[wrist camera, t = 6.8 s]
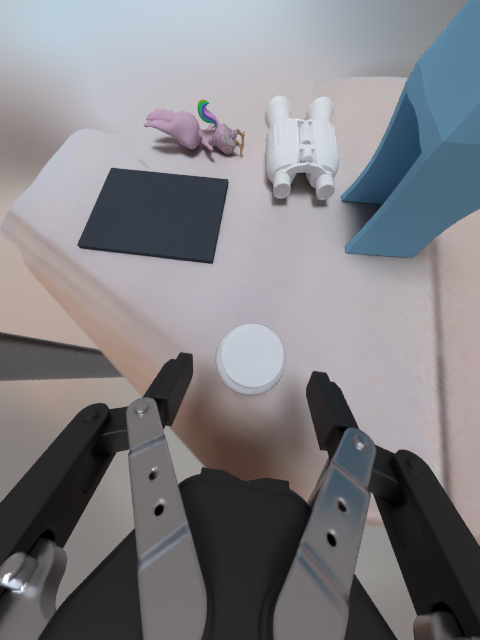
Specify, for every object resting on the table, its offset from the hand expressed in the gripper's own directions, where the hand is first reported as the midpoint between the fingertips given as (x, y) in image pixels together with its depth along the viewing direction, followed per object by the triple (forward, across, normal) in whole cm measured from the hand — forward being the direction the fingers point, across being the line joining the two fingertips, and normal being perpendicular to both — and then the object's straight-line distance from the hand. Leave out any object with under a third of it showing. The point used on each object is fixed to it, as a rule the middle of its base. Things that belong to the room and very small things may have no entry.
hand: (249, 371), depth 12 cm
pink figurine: (+30, +12, -18) cm, 37 cm away
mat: (+20, +15, -8) cm, 26 cm away
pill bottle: (+7, 0, +5) cm, 9 cm away
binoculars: (+29, -4, -16) cm, 33 cm away
